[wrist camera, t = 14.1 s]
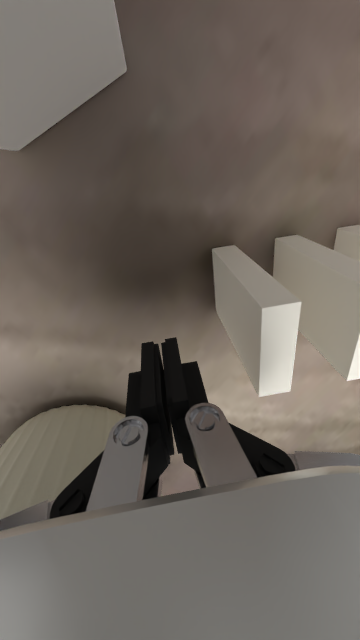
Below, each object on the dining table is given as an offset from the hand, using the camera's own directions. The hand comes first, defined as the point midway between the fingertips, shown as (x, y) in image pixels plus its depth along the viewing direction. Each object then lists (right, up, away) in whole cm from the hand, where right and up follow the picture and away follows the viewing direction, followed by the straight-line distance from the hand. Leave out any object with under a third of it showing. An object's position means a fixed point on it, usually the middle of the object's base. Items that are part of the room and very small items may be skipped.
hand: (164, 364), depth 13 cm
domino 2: (+9, +6, +7) cm, 12 cm away
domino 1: (+4, +5, +7) cm, 9 cm away
